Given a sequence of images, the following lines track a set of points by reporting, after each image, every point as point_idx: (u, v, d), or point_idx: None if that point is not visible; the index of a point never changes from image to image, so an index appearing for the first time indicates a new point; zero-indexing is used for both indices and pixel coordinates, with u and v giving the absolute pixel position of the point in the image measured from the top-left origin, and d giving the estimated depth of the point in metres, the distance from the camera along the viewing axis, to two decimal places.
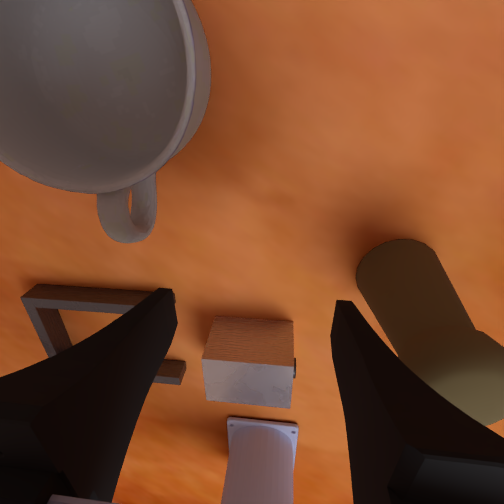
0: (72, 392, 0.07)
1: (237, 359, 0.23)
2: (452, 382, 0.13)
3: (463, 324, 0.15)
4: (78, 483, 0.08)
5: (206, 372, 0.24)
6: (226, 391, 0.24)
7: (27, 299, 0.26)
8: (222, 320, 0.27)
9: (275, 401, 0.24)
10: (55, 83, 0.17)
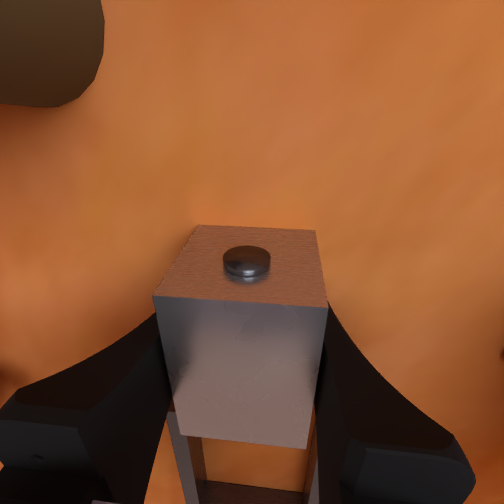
0: (112, 396, 0.07)
1: (173, 386, 0.11)
2: None
3: None
4: (116, 488, 0.08)
5: (216, 435, 0.12)
6: (271, 417, 0.11)
7: None
8: None
9: (298, 337, 0.09)
10: None
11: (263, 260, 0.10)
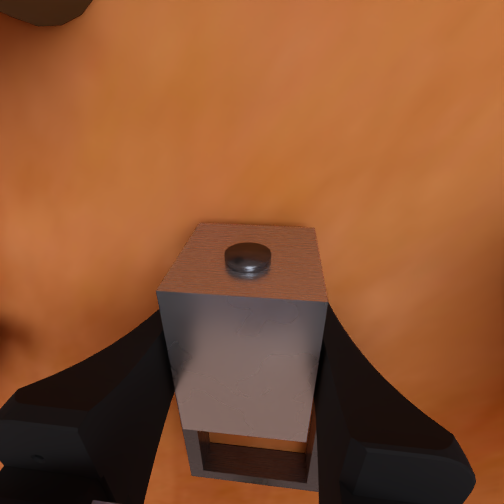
0: (112, 396, 0.07)
1: (176, 380, 0.11)
2: None
3: None
4: (116, 488, 0.08)
5: (218, 428, 0.12)
6: (272, 411, 0.11)
7: (192, 471, 0.23)
8: None
9: (298, 332, 0.09)
10: None
11: (264, 256, 0.10)
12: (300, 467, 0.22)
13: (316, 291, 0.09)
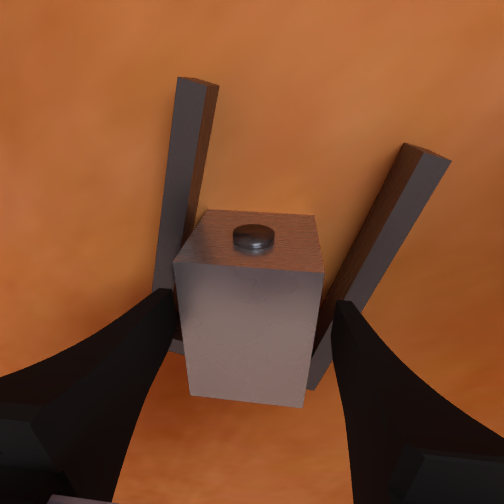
0: (72, 392, 0.07)
1: (186, 348, 0.12)
2: None
3: None
4: (78, 483, 0.08)
5: (222, 395, 0.13)
6: (272, 377, 0.12)
7: None
8: None
9: (298, 300, 0.10)
10: None
11: (268, 235, 0.11)
12: None
13: (314, 264, 0.10)
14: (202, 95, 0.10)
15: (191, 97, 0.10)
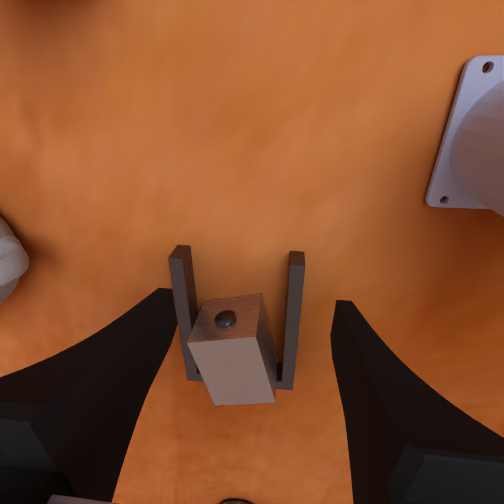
0: (72, 392, 0.07)
1: (205, 380, 0.23)
2: None
3: None
4: (78, 483, 0.08)
5: (231, 402, 0.24)
6: (252, 388, 0.23)
7: (188, 375, 0.27)
8: None
9: (249, 350, 0.21)
10: None
11: (231, 317, 0.22)
12: (277, 371, 0.27)
13: (252, 332, 0.21)
14: (181, 262, 0.21)
15: (176, 264, 0.21)
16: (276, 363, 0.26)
